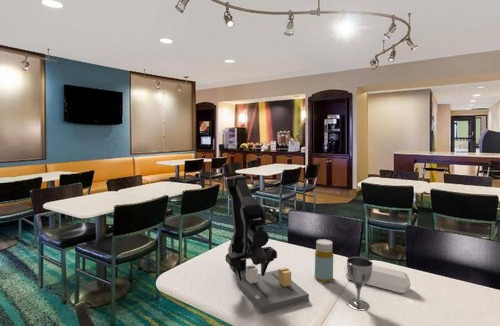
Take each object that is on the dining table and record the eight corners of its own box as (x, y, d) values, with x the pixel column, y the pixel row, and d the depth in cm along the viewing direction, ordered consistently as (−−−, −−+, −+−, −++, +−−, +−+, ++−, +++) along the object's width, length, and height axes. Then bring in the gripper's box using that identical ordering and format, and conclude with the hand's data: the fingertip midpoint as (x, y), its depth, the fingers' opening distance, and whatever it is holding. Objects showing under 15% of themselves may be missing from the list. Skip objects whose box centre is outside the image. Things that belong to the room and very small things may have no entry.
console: (237, 284, 118) (237, 278, 118) (278, 275, 126) (278, 269, 125) (261, 313, 99) (261, 305, 99) (308, 301, 107) (308, 293, 106)
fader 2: (278, 281, 115) (278, 268, 114) (285, 280, 116) (285, 266, 115) (283, 286, 111) (283, 272, 110) (291, 285, 112) (291, 271, 112)
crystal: (340, 271, 121) (408, 288, 108) (345, 257, 126) (411, 271, 113) (342, 283, 125) (409, 301, 112) (347, 269, 130) (411, 284, 116)
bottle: (333, 283, 119) (334, 245, 118) (314, 281, 120) (315, 244, 119) (332, 275, 126) (333, 239, 124) (314, 273, 127) (315, 238, 126)
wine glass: (358, 313, 99) (360, 268, 98) (340, 301, 106) (342, 259, 105) (376, 307, 103) (377, 263, 101) (357, 296, 110) (359, 255, 109)
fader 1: (245, 279, 117) (245, 265, 116) (253, 277, 118) (253, 264, 118) (250, 283, 113) (250, 270, 113) (257, 282, 114) (257, 268, 114)
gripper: (236, 248, 103) (236, 293, 105) (284, 240, 111) (284, 282, 112) (224, 238, 113) (225, 279, 115) (270, 231, 121) (270, 270, 122)
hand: (251, 278), depth 116 cm, fingers open, 9 cm apart
